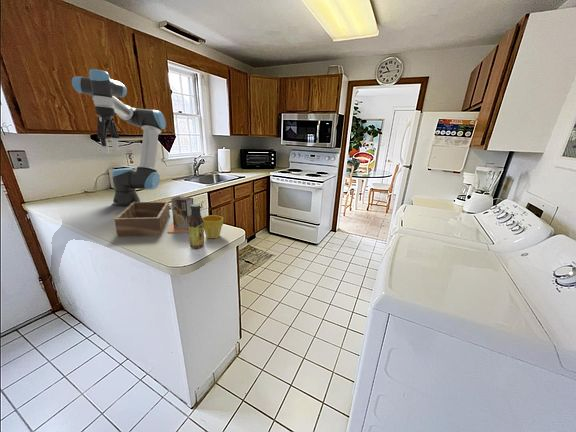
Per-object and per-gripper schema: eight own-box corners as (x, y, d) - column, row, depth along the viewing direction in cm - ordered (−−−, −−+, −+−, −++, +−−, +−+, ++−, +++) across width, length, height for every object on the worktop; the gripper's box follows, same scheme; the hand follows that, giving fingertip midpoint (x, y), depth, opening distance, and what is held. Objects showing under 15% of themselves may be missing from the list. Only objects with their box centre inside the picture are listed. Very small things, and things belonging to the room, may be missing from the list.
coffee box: (195, 225, 131) (194, 197, 126) (188, 229, 125) (186, 200, 120) (180, 223, 133) (178, 195, 127) (172, 227, 127) (170, 198, 121)
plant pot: (212, 230, 128) (212, 213, 125) (227, 235, 124) (227, 217, 121) (197, 237, 119) (196, 218, 116) (213, 242, 115) (213, 223, 112)
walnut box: (134, 216, 138) (132, 202, 135) (169, 216, 143) (168, 202, 140) (117, 236, 112) (114, 219, 109) (160, 235, 118) (159, 218, 115)
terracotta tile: (171, 223, 133) (171, 222, 133) (198, 222, 137) (198, 221, 137) (167, 233, 121) (167, 232, 120) (196, 232, 125) (196, 231, 125)
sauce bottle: (202, 249, 107) (200, 208, 101) (188, 249, 106) (185, 207, 100) (205, 243, 113) (204, 203, 107) (192, 243, 113) (190, 203, 106)
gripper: (105, 107, 125) (111, 149, 131) (82, 103, 102) (91, 153, 109) (122, 109, 127) (127, 150, 134) (102, 105, 104) (110, 154, 111)
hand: (111, 151), depth 121 cm, fingers open, 13 cm apart
